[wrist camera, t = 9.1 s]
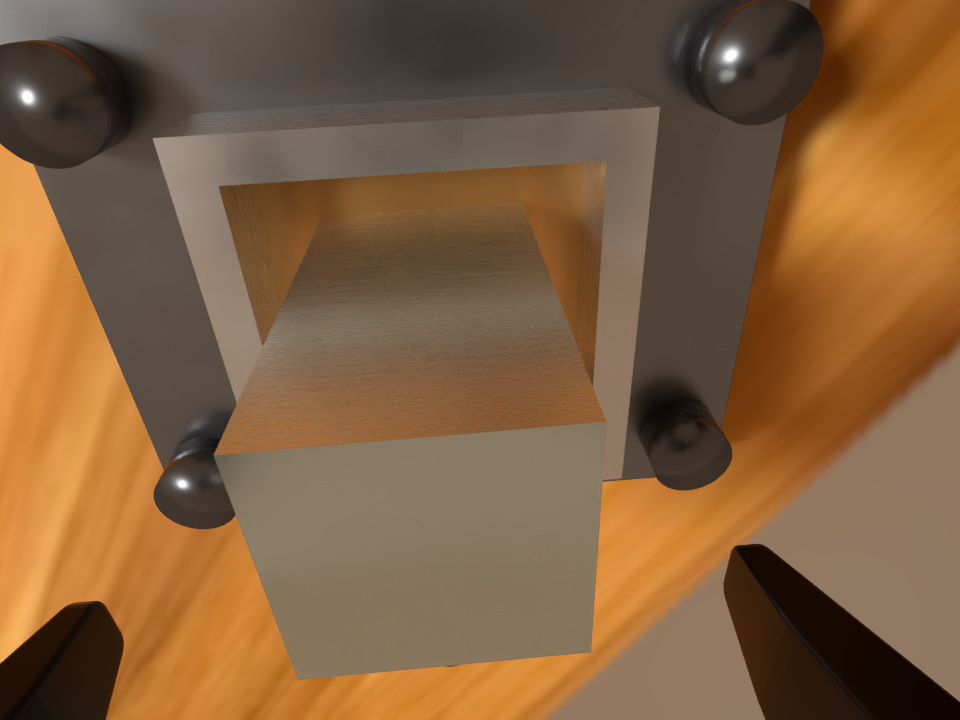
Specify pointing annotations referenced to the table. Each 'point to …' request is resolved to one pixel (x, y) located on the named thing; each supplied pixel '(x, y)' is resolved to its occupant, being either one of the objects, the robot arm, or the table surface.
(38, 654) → the robot arm
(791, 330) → the table surface
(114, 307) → the square hole base plate
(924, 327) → the table surface
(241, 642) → the table surface
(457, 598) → the brushed metal square peg
